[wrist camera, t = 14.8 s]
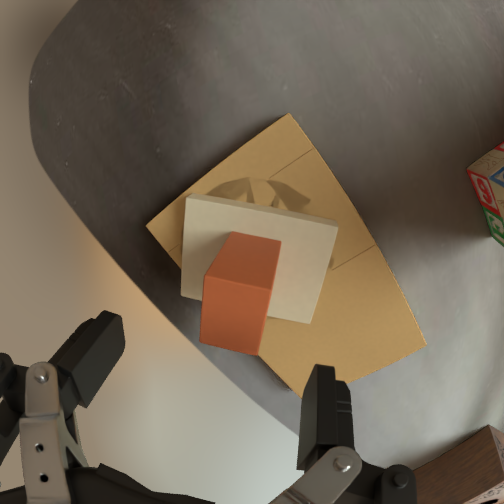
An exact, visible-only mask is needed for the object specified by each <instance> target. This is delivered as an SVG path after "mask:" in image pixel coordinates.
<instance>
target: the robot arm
mask: <svg viewBox="0 0 504 504" xmlns="http://www.w3.org/2000/svg"><path fill="white" fill-rule="evenodd" d="M124 348H125V337H124V330H123V324H122V317H121V316H120V315H118V314H114V313H112V312H108V311H106V310H104V311H102V312H101V313H100V314H99V316H98V317H97V318H96V319H93V318H91V319H89V320H87V321H85V322H83V323H82V324H81V325H80V326H79V327H78V328H77V329H76V330H75V332H74V333H73V334H72V335H71V336H70V337H69V339H67V340H66V342H65V343H64V344H63V345H62V346H61V347H60V348H59V350H58V351H57V352H56V353H55V354H54V355H53V357H52V358H51V359H50V360H49V361H48V362H38V363H35V364H33V365H32V366H30V367H25V366H20V365H15V364H14V363H13V361H12V359H11V357H10V356H9V355H8V354H6V353H0V398H1V397H3V400H2V402H1V403H0V466H1V464H2V462H3V460H4V458H5V456H6V455H7V453H8V451H9V449H10V448H11V446H12V444H13V442H14V441H15V439H16V437H17V436H18V434H19V432H20V446H21V457H22V467H23V475H24V482H25V485H24V486H21V487H17V488H14V489H10V490H6V491H3V492H0V504H215V502H210V501H206V500H203V499H199V498H195V497H191V496H188V495H181V494H170V493H160V492H153V491H151V490H149V489H147V488H146V487H144V486H143V485H141V484H140V483H138V482H137V481H135V480H134V479H132V478H131V477H129V476H128V475H126V474H124V473H122V472H119V471H117V470H115V469H113V468H110V467H108V466H106V465H104V464H102V463H100V465H99V467H98V468H95V467H89V466H88V463H87V460H86V458H85V456H84V453H83V450H82V447H81V442H80V436H79V431H78V425H77V419H76V413H75V408H76V406H77V405H78V404H79V405H80V406H82V407H84V408H87V407H88V406H89V404H90V402H91V401H92V399H93V397H94V396H95V395H96V393H97V392H98V390H99V389H100V387H101V386H102V384H103V382H104V381H105V379H106V378H107V376H108V375H109V373H110V372H111V370H112V369H113V367H114V366H115V364H116V363H117V361H118V360H119V358H120V357H121V356H122V354H123V352H124ZM351 413H352V406H351V395H350V390H349V388H348V387H347V385H346V383H345V381H341V380H336V375H335V367H334V366H328V365H322V364H315V365H314V367H313V370H312V372H311V374H310V377H309V379H308V381H307V383H306V386H305V388H304V391H303V396H302V404H301V420H300V434H299V446H298V458H297V470H304V475H303V476H302V477H301V478H299V479H298V480H297V481H296V482H295V483H294V484H293V485H292V486H290V487H289V488H288V489H286V490H285V491H283V492H282V493H281V494H280V495H278V496H277V497H276V498H275V499H274V500H273V501H271V502H270V503H269V504H417V488H416V477H415V475H414V473H413V471H412V470H411V469H410V468H408V467H407V466H404V465H399V464H398V465H392V466H390V467H389V468H387V469H384V468H381V467H377V466H374V465H371V464H369V463H366V462H365V461H363V460H362V459H361V457H360V456H359V454H358V453H357V452H356V451H355V447H354V434H353V419H352V414H351ZM0 487H1V483H0Z"/></svg>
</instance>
